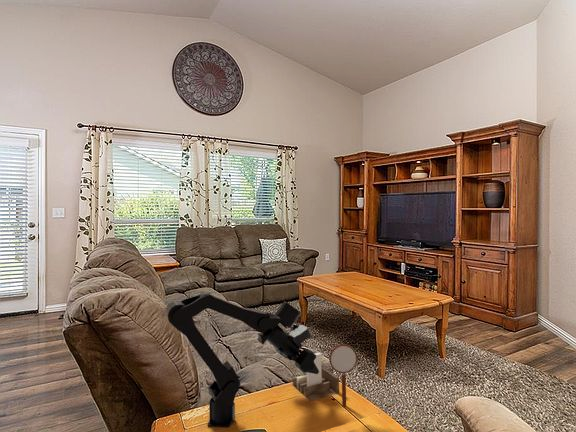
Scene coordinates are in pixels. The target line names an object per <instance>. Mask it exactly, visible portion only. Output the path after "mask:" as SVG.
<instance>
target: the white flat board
mask: <svg viewBox="0 0 576 432" xmlns="http://www.w3.org/2000/svg"><path fill="white" fill-rule="evenodd" d="M314 354H315V355H316V358H315V360H314V363H315V365H316V366H317V368H318V370H319V373H318V374H314V373H308V372H306V375H307V387H309V386H313V385H316V384H320V383H322V373H321V366H322V353H321V352H316V353H314Z"/></svg>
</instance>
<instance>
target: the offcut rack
mask: <svg viewBox="0 0 576 432" xmlns="http://www.w3.org/2000/svg"><path fill="white" fill-rule="evenodd" d="M321 373H322V383H320V384H316V385H313V386H309V387H307V374H304V375H299V376H295V377H292V378H291V379H292V384H291V386H293V387H294V388H295V389H296V390H297V391H298V392H299V393H300V394H302V395H303V396H304V397H305V399H307V400H308V401H309V402H313V401H316V400H319V399H323V398H327V397H331V396H334V395H338V394H340V377H339V376H337V375H336V374H334V372H332V371H330V370H328V369H327V368H326V367H324V366H322V365H321Z"/></svg>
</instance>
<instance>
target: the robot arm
mask: <svg viewBox="0 0 576 432" xmlns="http://www.w3.org/2000/svg"><path fill="white" fill-rule="evenodd" d="M207 309H208V310H211V311H214V312H217V313H220V314H222V315H225V316H227V317H230V318H232V319H236V320H237V321H241V322H242V323H244V324H246V325H247V326H248V327H250V328H251V329H253V330H254V331H256V332H257V336H258V338H257V341H258V343H260V344H261V345H265V343H266V342H268V343H269V344H270V345H272V346H273V348H274V349H275V351H276V352H277V353H278V354H279V355H280V356H281V357H283V358H284V359H287V360H288V361H293V362H294V366H295V367H296V368H297V369H298V370H300V371H301V372H302V373H304V374H305V373H307V372H308V373H314V374H318V373H319V370H318V368H317V366H316V365H315V363H314V360H315V358H316V355H315V354H316V353H314V352H313V351H312V350H310V349H308V348H304V349H303V350H302V347H303V343H304V342H305V341H307V340H308V339H310V338H311V337H312V334H311V332H310V329H309V327H308V326H306V325H304V324H296V323H295V322H296V321H297V320H298V318H299V317H300V315H301V314H302V313H301V312H300V311H299V310H298V309H297V308H296V307H294V306H293V305H291V304H290V303H288V302H287V301H286V300H285V301H283V302H282V304H281V305H280V306H279V308H278V310H276V312H275V313H272V312H264V311H262V310H261V309H255V308H252V307H251V308H249V307H242V306H241V305H237V304H236V303H235V304H234V303H232V302H229V301H227V300H225V299H222V298H221V297H218V296H216V295H213V294H211V293H209V292H207V291H204V292H201V293H199V294H197V295H194V296H191V297H187V298H184V299H182V300H173V301H170V302H169V303H168V304H167V305H166V308H165V311H164V313H165V316H166V319H167V320H168V322H169V323H170V325H172V327H174V328H175V329H176V330H177V331H179V332H180V333H181V334H182V335H183V336H184V337H186V338H187V340H188V342H189V343H190V344H191V346H192V347H193V349H195V351H196V352H197V354H198V355H199V357H200V358H201V359H202V361H203V362H204V363H205V365H206V366H207V367H208V368H209V370H210V373H211V375H212V377H213V379H214V380H213V382H212V383H211V384H210V385H209V387H208V388H207V390H208V393H209V395H210V396H211V397H210V399H209V401H208V407H209V420H208V422H207V426H208V427H221V428H223V427H225V428H228V427H230V426H231V424H232V422H233V421H234V419H235V417H236V404H235V403H236V402H235V399H236V395H237V393H238V392H239V390H240V387H241V381H240V378H241V376H240V375H239V374H238V373H237V371H236V370H235V369H234V367H233V366H232V364H231V363H230V362H229V360H225V362H222V361H221V359H220V358H219V357H218V356H217V354H216V353H215V352H214V350H213V349H212V347H211V346H210V344H209V343H208V341H207V340H206V339H205V337H204V336H203V335H202V333H201V332H200V331H199V329H198V328H197V326H196V323H195V321H194V317H196V316H197V315H199V314H200V313H202V312H203V311H205V310H207ZM283 328H284V329H290V333H288V332H287V331H285V330H284V329H283Z"/></svg>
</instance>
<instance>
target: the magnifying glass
mask: <svg viewBox="0 0 576 432" xmlns="http://www.w3.org/2000/svg"><path fill="white" fill-rule="evenodd" d="M357 362H358V354H357V352H356V350H355V349H354V348H353V347H352V346H350V344H345V343H342V344H338V345H336V346H335V347H333V348H332V350H331V351H330V354H329V364H330V367H332V369H333V370H334V371H335V372H337V373H340V374H341V394H342V395H341V398H342V399H341V403H342V404H341V405H342V407H343V408H346V407H347V384H346V383H347V380H346V376H347V375H346V374H347V373H350V372H351V371H353V370H354V368H355V367H356V365H357Z"/></svg>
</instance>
